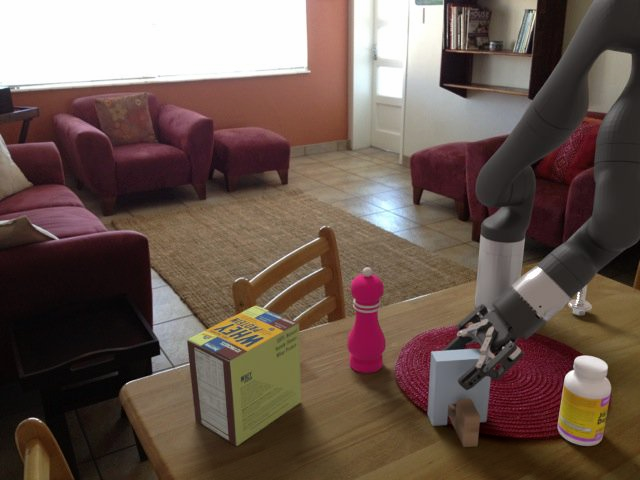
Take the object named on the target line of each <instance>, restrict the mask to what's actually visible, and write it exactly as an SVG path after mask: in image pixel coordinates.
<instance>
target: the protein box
mask: <svg viewBox="0 0 640 480" xmlns="http://www.w3.org/2000/svg"><path fill="white" fill-rule="evenodd" d="M186 343H187V352H188V361H189V363H188V364H189V372H190V381H191V390H192V399H193V401H192V402H193V408H194V409H193V410H194V411H193V412H194V418H195V420H194V421H195V422H196V423H198V424H200V425H202V426H203V427H205V428H206V429H207V430H210V431H211V432H213V433H214V434H216V435H217V436H218V437H221V438H222V439H224V440H225V441H227V442H228V443H230V444H231V445H233V446H235V447H238V446H240V445H241V444H242V443H244V442H245V441H246V440H248V439H249V438H251V437H252V436H254V435H255V434H257V433H258V432H260V431H261V430H262V429H264V428H266V427H267V426H268V425H270V424H271V423H273V422H274V421H276V420H277V419H278V418H280V417H281V416H283V415H284V414H286V413H287V412H289V411H290V410H291V409H293V408H294V407H296V406H297V405H299V404H300V403H302V389H301V388H302V385H301V383H302V381H301V380H302V377H301V352H300V351H301V349H300V346H301V345H300V323H299V322H298V321H296V320H293V319H290V318H288V317H285V316H283V315H281V314H278V313H275V312H272V311H270V310H268V309H266V308H263V307H260V306H258V305H254V306H252V307H250V308H249V307H248V308H247V309H245V310H243V311H242V312H240V313H238V314H236V315H233V316H232V317H229V318H227V319H225V320H223V321H221V322H220V323H219V322H218V323H217V324H215V325H213V326H210V327H209V328H207V329H205V330H203V331H200V332H199V333H196V334H195V335H193V336H191V337H189V338H188V339H187V340H186Z"/></svg>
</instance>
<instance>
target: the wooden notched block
mask: <svg viewBox="0 0 640 480" xmlns="http://www.w3.org/2000/svg"><path fill="white" fill-rule="evenodd" d="M448 418H449V419H450V422H451V424H452V426H453V428H454V430H455V433H456V435H457V436H458V439H459V441H460V442H461V445H462V447H463V448H471V447H478V444H479V433H480V423H481V422H480V415H479V413H478V411H477V409H476V408H475V406H474V404H473V402H472V400H471V399H459V400H457V403H455V404H448Z"/></svg>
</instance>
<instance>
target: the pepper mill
mask: <svg viewBox="0 0 640 480" xmlns="http://www.w3.org/2000/svg"><path fill="white" fill-rule="evenodd" d="M384 286H385V285H384V283H383V281H382V279H381V278H380V277H379V276H377V275H375V274H373V270H372V268H370V267H364V268H363V270H362V274H359V275H357V276H356V277H355V278H354V279H352V282H351V283H350V294H351V296H352V297H353V298H354V299H353V301H352V303H353V306H352V307H353V309H354V310H355V320H354V324H353V327H352V329H351V330H350V331H349V334H348V337H347V340H346V341H347V342H346V346H347V350H348V352H349V353H350V354H349V366H350V368H351V369H353V370H354V371H355V372H358V373H363V374H370V373H371V374H372V373H375V372H377V371H380V370H381V368H382V367H383V365H384V364H383V362H384V360H383V353H384V352H385V350H386V347H387V345H386V338H385V335H384V332H383V330H382V328H381V326H380V323H379V311H380V309H381V303H382V301H381V298H382V297H383V295H384V292H385V290H384V289H385V288H384Z"/></svg>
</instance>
